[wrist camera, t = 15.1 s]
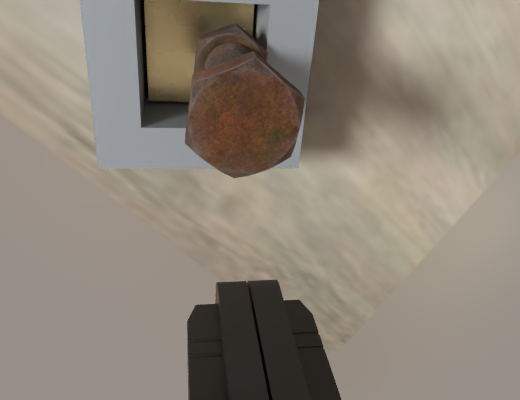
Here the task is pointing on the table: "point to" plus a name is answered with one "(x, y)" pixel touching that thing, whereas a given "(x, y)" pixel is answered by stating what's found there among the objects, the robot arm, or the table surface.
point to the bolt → (240, 105)
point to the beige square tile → (183, 40)
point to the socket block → (171, 112)
